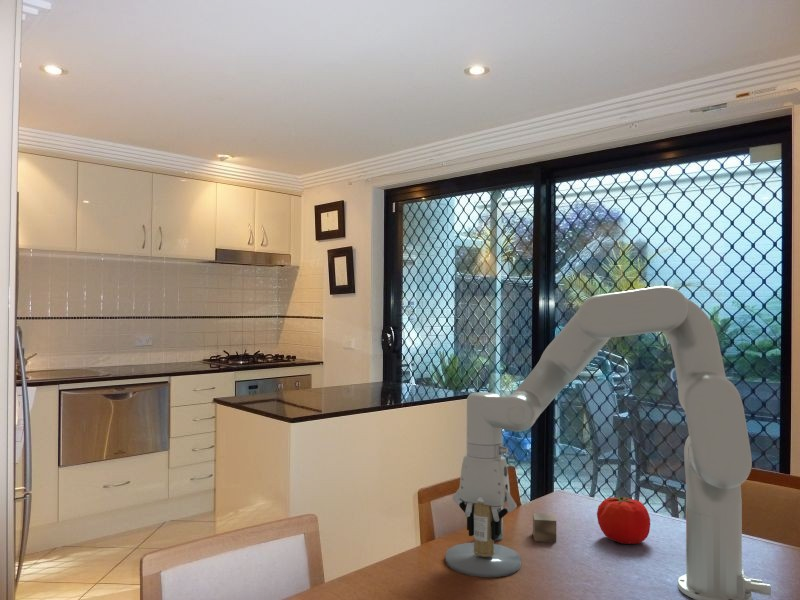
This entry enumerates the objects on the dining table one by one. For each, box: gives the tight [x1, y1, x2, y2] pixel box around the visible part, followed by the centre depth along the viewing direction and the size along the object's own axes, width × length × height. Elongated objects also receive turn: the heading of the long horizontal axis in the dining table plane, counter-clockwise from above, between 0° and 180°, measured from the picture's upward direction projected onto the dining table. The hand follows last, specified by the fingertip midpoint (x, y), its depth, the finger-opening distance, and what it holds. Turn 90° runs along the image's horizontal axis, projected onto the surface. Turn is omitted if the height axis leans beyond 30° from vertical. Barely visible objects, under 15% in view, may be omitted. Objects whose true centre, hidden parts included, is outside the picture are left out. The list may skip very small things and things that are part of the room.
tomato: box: [596, 495, 651, 545], centre depth 144 cm, size 12×12×10 cm
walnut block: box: [532, 512, 557, 543], centre depth 146 cm, size 5×5×5 cm
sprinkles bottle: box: [473, 497, 495, 557], centre depth 131 cm, size 5×5×13 cm
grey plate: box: [445, 541, 522, 578], centre depth 131 cm, size 16×16×1 cm
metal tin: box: [494, 505, 504, 542], centre depth 145 cm, size 5×5×8 cm
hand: (483, 535), depth 131 cm, fingers closed on sprinkles bottle, 4 cm apart
